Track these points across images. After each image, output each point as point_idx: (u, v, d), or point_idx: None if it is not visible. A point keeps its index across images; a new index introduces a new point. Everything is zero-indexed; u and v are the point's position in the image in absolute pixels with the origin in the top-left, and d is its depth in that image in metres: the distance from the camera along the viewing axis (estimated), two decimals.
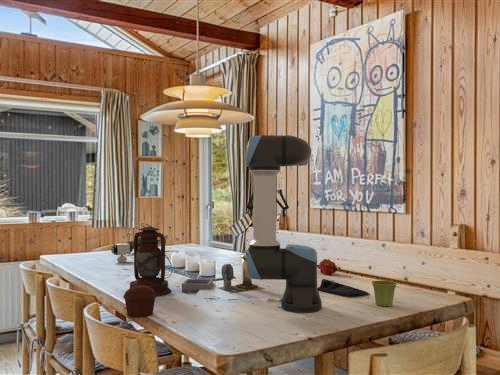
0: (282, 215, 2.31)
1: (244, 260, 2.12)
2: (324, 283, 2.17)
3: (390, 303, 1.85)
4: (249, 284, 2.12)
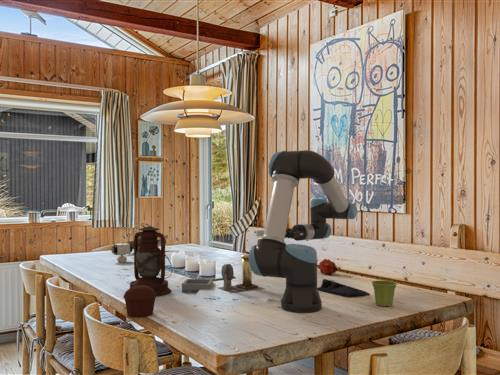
0: None
1: (244, 260, 2.12)
2: (325, 283, 2.17)
3: (390, 303, 1.85)
4: (249, 284, 2.12)
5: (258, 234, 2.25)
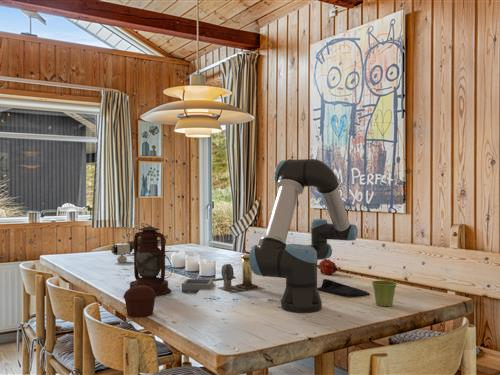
0: None
1: (244, 260, 2.12)
2: (325, 283, 2.17)
3: (390, 303, 1.85)
4: (249, 284, 2.12)
5: None
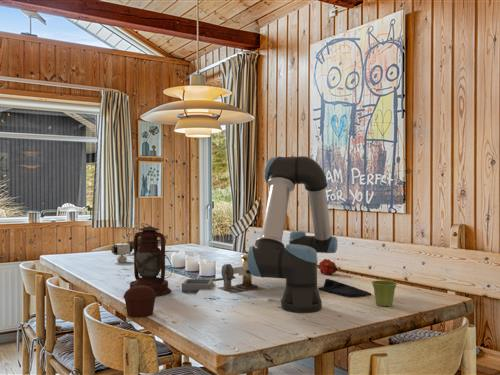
0: (247, 268, 2.11)
1: (244, 260, 2.12)
2: (327, 283, 2.17)
3: (390, 303, 1.85)
4: (249, 284, 2.12)
5: (235, 271, 2.13)
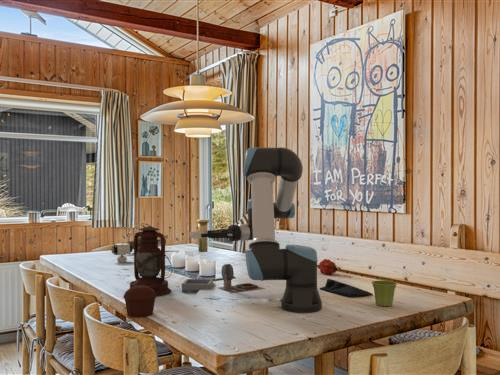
0: (202, 232, 2.14)
1: (200, 224, 2.16)
2: (329, 283, 2.17)
3: (390, 303, 1.85)
4: (204, 248, 2.16)
5: (191, 235, 2.17)
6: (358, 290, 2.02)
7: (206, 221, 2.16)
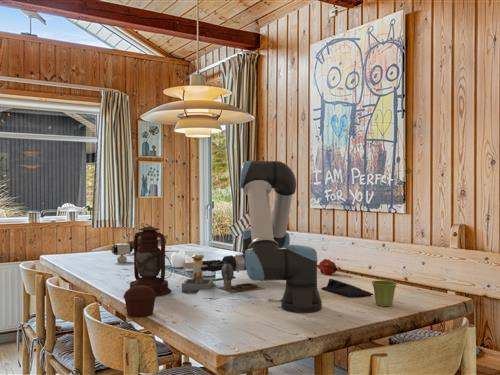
0: (202, 265, 2.12)
1: (194, 260, 2.15)
2: (330, 283, 2.17)
3: (390, 303, 1.85)
4: None
5: (185, 267, 2.18)
6: (358, 290, 2.02)
7: (201, 257, 2.15)
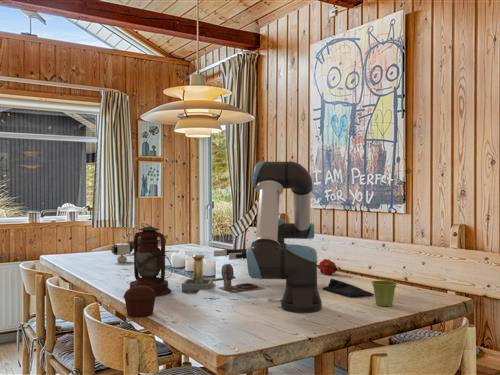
0: (237, 253, 2.18)
1: (195, 260, 2.15)
2: (332, 283, 2.17)
3: (390, 303, 1.85)
4: None
5: (215, 254, 2.28)
6: (359, 290, 2.02)
7: (201, 257, 2.15)
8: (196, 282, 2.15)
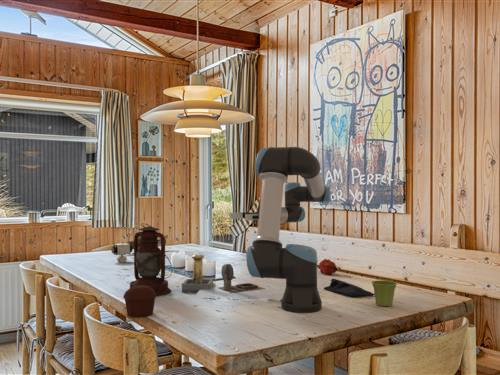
0: (253, 214, 2.17)
1: (194, 260, 2.15)
2: (333, 283, 2.17)
3: (390, 303, 1.85)
4: None
5: (231, 216, 2.27)
6: (360, 290, 2.02)
7: (201, 257, 2.15)
8: (196, 282, 2.15)
